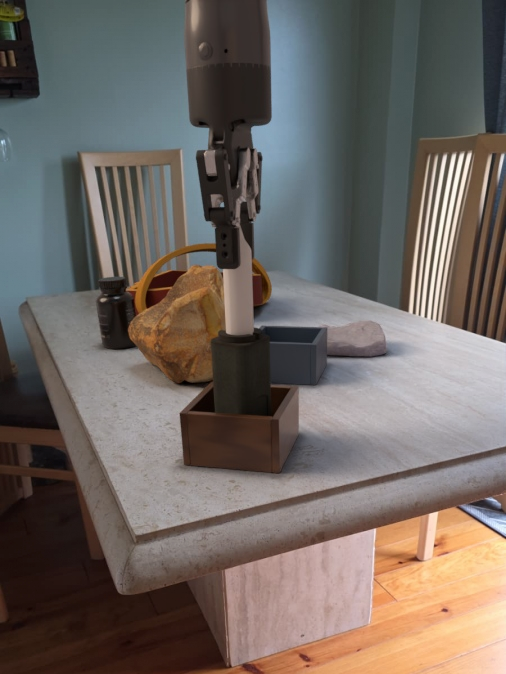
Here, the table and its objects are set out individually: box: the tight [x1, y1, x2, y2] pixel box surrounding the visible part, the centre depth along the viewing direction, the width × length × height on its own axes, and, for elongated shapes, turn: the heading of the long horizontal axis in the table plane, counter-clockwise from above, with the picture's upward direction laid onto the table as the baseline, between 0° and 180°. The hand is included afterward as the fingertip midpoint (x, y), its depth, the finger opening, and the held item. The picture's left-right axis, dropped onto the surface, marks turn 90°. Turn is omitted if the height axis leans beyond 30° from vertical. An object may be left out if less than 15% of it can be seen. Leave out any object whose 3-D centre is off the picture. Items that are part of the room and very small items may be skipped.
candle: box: [211, 223, 272, 416], centre depth 65 cm, size 5×5×25 cm
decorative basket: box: [126, 242, 273, 316], centre depth 136 cm, size 34×29×15 cm
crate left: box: [179, 381, 300, 474], centre depth 69 cm, size 11×11×6 cm
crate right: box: [258, 325, 328, 386], centre depth 95 cm, size 11×11×6 cm
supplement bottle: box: [95, 276, 136, 350], centre depth 112 cm, size 7×7×12 cm
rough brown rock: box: [128, 264, 226, 384], centre depth 97 cm, size 23×17×15 cm
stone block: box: [317, 320, 388, 357], centre depth 106 cm, size 12×5×10 cm
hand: (236, 263), depth 62 cm, fingers open, 4 cm apart
